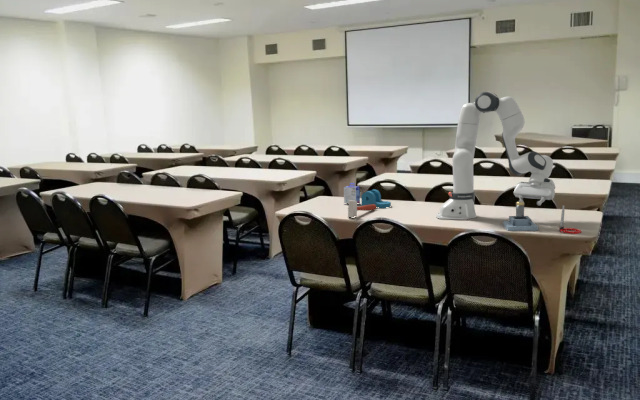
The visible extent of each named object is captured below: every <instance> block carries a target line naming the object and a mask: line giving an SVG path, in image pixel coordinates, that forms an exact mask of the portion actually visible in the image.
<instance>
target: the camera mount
mask: <svg viewBox="0 0 640 400" xmlns="http://www.w3.org/2000/svg"><path fill="white" fill-rule="evenodd" d="M360 200H361V206H364V205H372V204H375V205H376V207H379V208H378V209H387V208H386V207H390V206H391V207H392V202H391V201H388V200H387V201H386V200H382V195H381V192H380V191H379V190H378V189H374V188H373V189H371V190H367V191H365V192H364V193H362V194H361V197H360ZM391 207H390V208H391Z"/></svg>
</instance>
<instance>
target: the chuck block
mask: <svg viewBox="0 0 640 400" xmlns="http://www.w3.org/2000/svg"><path fill="white" fill-rule="evenodd" d="M502 222H503V223H502V224H503V227H504V228H505V229H506V230H507V231H508V232H509V231H510V232H511V231H512V232H515V231H516V232H518V231H519V232H522V231H523V232H524V231H525V232H526V231H527V232H529V231H530V232H531V231H532V232H533V231H539V226H538V225H537V224H536V223H535V222H534V221H533V220H532V218H530V216H529V215H524V219H516V215H509V216H508V220H502Z"/></svg>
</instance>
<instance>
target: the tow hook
mask: <svg viewBox="0 0 640 400" xmlns="http://www.w3.org/2000/svg"><path fill="white" fill-rule="evenodd" d="M565 211H566V210H565V205H562V208H561V216H560V217H561V218H560V224H559V227H558V228H559V232H560V233H561V234H564V233H566V234H573V235H574V234H575V235H576V234H581V233H582V230H581V229H578V228H575V227H564V226H565V225H564V224H565V221H564V220H565Z"/></svg>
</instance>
